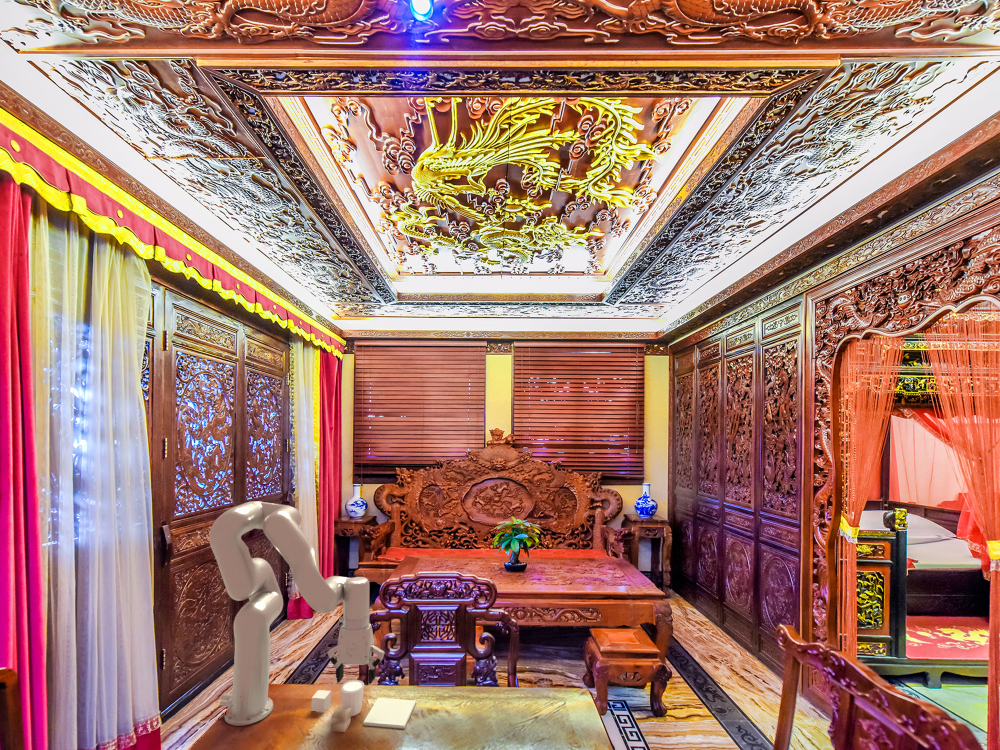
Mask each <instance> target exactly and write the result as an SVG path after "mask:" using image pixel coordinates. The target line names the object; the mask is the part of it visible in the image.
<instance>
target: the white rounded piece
mask: <svg viewBox="0 0 1000 750" xmlns="http://www.w3.org/2000/svg"><path fill="white" fill-rule="evenodd" d="M364 692H365V683H364V682H363V681H362V680H359V679H351V680H348V681H345V682H344V683H343V684H341V686H340V703H341V704H340V706H341V707H340V708H351V717H353V716H357V715H358V714H359V713H361V711H362V708H363V707H362V706H363V699H364V694H365V693H364Z"/></svg>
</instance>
